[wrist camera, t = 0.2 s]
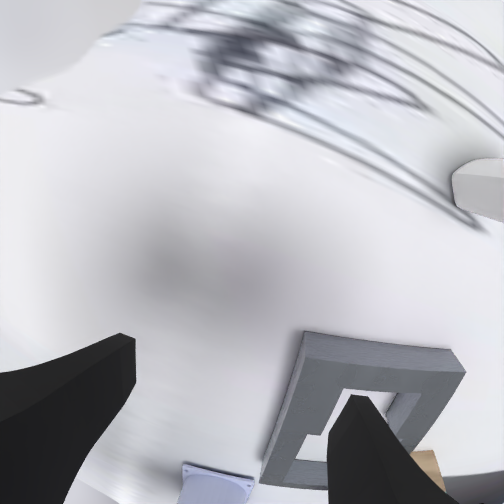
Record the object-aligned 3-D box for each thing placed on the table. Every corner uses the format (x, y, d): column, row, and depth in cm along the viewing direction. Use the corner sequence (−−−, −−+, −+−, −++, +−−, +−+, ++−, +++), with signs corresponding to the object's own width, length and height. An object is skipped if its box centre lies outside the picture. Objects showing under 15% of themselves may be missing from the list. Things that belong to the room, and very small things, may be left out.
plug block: (415, 470, 22) (426, 516, 15) (386, 472, 23) (393, 521, 16) (433, 450, 21) (448, 498, 14) (403, 452, 21) (415, 505, 15)
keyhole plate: (374, 468, 22) (377, 490, 20) (262, 460, 24) (258, 483, 21) (451, 349, 18) (466, 372, 15) (304, 331, 19) (305, 356, 16)
